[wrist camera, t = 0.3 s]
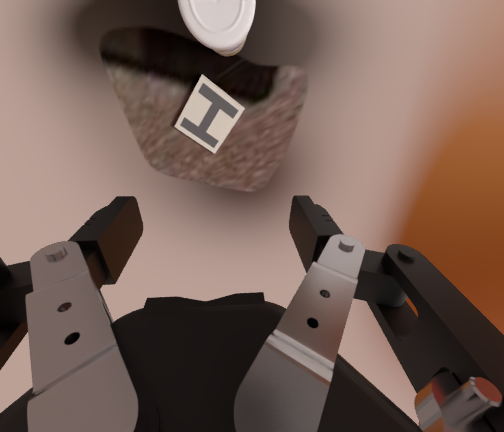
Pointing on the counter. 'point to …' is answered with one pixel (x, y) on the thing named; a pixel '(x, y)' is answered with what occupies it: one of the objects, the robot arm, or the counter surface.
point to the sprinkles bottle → (219, 22)
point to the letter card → (209, 115)
